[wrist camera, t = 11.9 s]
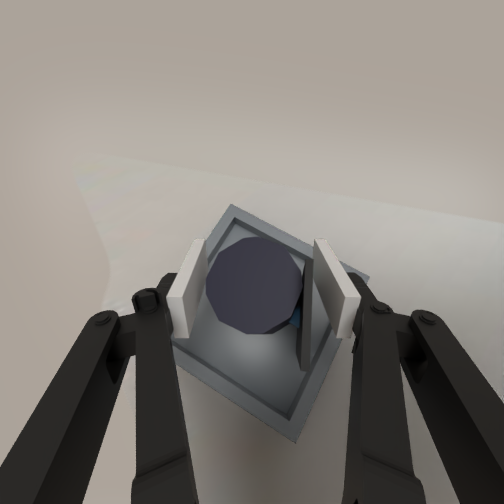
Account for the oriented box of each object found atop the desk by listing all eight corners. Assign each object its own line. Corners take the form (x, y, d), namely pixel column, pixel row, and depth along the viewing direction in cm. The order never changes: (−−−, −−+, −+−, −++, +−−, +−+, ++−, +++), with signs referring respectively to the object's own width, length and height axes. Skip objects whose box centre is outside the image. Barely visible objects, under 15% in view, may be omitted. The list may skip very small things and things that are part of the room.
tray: (357, 281, 24) (369, 276, 21) (290, 429, 20) (295, 443, 18) (232, 215, 26) (230, 203, 23) (151, 338, 22) (139, 339, 20)
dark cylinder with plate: (325, 293, 22) (362, 265, 12) (299, 355, 21) (317, 380, 11) (250, 258, 24) (229, 210, 14) (222, 314, 22) (176, 303, 13)
